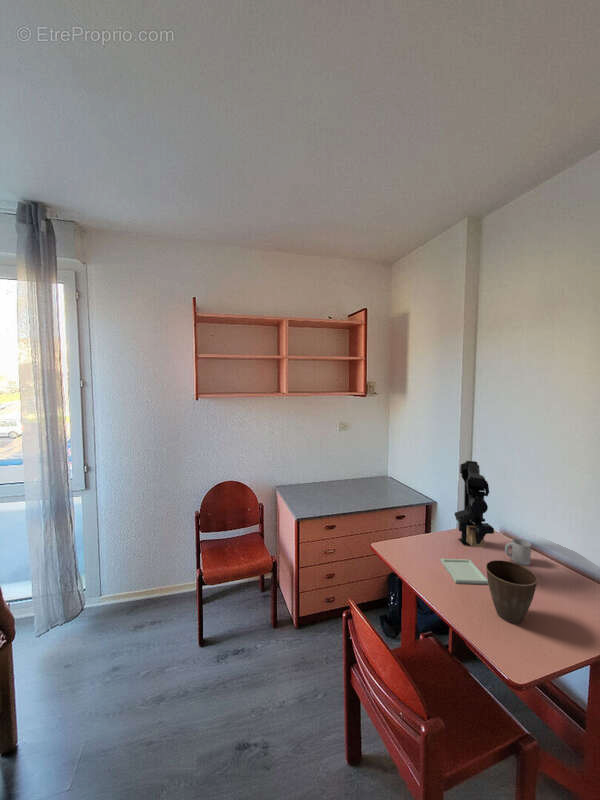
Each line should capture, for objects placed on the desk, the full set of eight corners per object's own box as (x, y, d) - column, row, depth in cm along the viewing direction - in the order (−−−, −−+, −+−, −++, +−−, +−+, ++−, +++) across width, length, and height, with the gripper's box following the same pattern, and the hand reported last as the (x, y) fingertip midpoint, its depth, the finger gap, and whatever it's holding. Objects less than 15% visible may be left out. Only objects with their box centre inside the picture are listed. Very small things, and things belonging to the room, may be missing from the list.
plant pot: (524, 639, 103) (527, 591, 102) (476, 612, 115) (478, 568, 114) (542, 619, 112) (544, 574, 111) (495, 596, 124) (497, 555, 123)
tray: (440, 561, 148) (440, 558, 148) (469, 562, 147) (470, 559, 147) (455, 583, 132) (456, 579, 132) (488, 584, 131) (488, 580, 131)
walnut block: (466, 541, 146) (466, 525, 145) (477, 541, 146) (478, 526, 145) (472, 546, 141) (472, 530, 140) (483, 546, 141) (484, 531, 140)
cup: (532, 567, 144) (533, 547, 144) (506, 562, 148) (506, 543, 147) (527, 559, 151) (528, 540, 150) (502, 554, 154) (503, 536, 154)
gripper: (448, 498, 152) (447, 531, 153) (467, 513, 133) (466, 550, 134) (472, 498, 152) (471, 531, 152) (495, 513, 133) (494, 551, 134)
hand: (474, 540), depth 143 cm, fingers closed on walnut block, 5 cm apart
